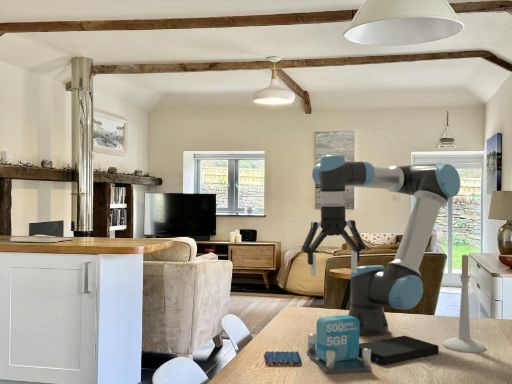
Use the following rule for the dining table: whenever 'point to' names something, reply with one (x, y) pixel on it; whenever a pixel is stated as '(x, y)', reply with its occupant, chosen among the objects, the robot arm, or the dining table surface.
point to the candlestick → (464, 319)
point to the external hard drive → (398, 350)
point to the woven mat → (282, 358)
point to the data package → (337, 337)
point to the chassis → (339, 366)
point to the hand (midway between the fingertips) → (333, 273)
